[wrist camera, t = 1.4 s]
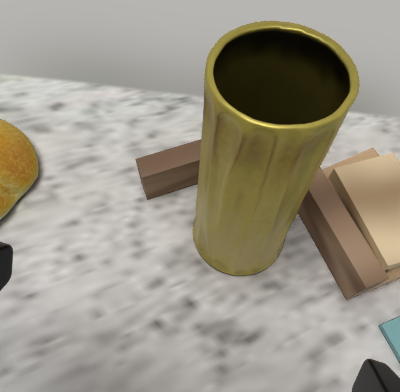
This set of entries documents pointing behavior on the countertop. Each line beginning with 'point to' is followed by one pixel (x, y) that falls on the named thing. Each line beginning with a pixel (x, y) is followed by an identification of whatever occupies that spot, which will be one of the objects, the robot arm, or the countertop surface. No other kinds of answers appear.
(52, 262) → the countertop surface
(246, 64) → the vase
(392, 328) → the mat
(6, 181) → the bread roll
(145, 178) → the offcut rack
